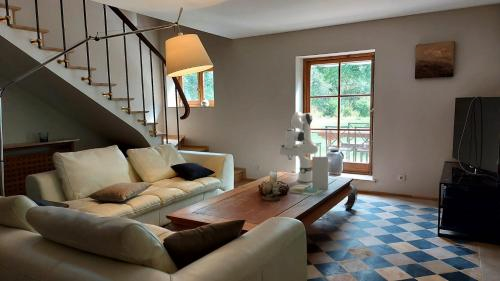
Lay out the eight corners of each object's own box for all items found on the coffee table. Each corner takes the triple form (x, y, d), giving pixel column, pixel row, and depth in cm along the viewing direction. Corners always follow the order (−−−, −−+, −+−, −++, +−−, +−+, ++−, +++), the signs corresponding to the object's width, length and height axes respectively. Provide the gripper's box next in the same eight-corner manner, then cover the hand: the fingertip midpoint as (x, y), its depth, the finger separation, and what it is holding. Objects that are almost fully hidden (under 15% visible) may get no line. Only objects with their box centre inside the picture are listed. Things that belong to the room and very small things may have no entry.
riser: (299, 187, 334) (298, 183, 334) (310, 189, 327) (310, 185, 327) (289, 192, 320) (289, 187, 319) (301, 193, 313) (301, 189, 312)
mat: (311, 189, 328) (311, 188, 328) (323, 190, 321) (323, 190, 321) (302, 194, 311) (302, 193, 311) (314, 195, 305) (314, 195, 304)
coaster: (309, 190, 323) (309, 187, 322) (317, 191, 318) (317, 188, 318) (305, 192, 316) (305, 188, 316) (313, 193, 311) (313, 190, 311)
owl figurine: (284, 199, 297) (283, 179, 295) (276, 202, 287) (275, 182, 285) (266, 196, 308) (266, 177, 306) (258, 199, 299) (258, 179, 297)
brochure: (327, 187, 333) (327, 156, 330) (328, 188, 328) (328, 157, 325) (312, 187, 335) (312, 156, 331) (312, 188, 329) (312, 157, 326)
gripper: (301, 145, 329) (301, 160, 331) (282, 144, 340) (282, 158, 342) (298, 146, 324) (298, 161, 325) (279, 145, 335) (279, 159, 337)
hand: (290, 159), depth 334 cm, fingers closed
